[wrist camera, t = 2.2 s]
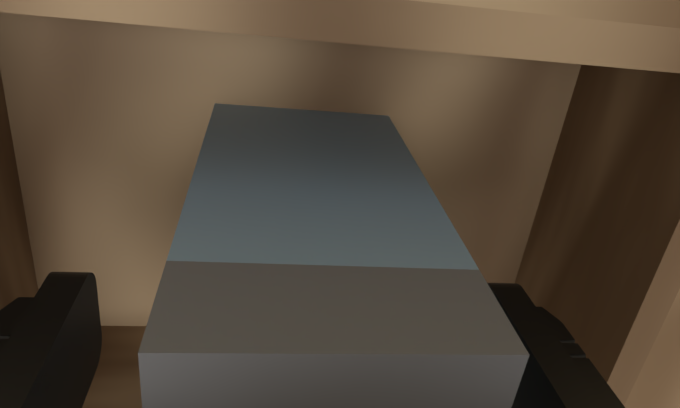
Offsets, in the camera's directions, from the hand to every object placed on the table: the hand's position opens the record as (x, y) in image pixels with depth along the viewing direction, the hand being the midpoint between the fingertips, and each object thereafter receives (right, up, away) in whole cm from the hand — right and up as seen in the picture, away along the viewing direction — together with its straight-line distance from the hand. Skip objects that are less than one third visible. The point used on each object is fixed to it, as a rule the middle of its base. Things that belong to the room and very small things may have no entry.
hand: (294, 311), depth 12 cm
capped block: (0, +3, +5) cm, 6 cm away
